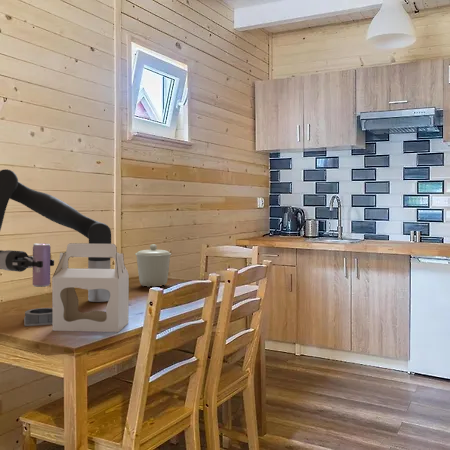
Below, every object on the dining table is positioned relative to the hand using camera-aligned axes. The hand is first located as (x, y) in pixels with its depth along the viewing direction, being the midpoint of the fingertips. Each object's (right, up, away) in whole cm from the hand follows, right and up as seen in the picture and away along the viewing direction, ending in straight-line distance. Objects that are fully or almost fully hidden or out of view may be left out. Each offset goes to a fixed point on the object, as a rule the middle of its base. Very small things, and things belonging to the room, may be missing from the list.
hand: (47, 263), depth 186 cm
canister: (+27, -17, +78) cm, 84 cm away
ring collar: (0, -20, -4) cm, 20 cm away
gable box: (+19, -21, -11) cm, 30 cm away
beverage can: (-3, -8, +1) cm, 9 cm away
